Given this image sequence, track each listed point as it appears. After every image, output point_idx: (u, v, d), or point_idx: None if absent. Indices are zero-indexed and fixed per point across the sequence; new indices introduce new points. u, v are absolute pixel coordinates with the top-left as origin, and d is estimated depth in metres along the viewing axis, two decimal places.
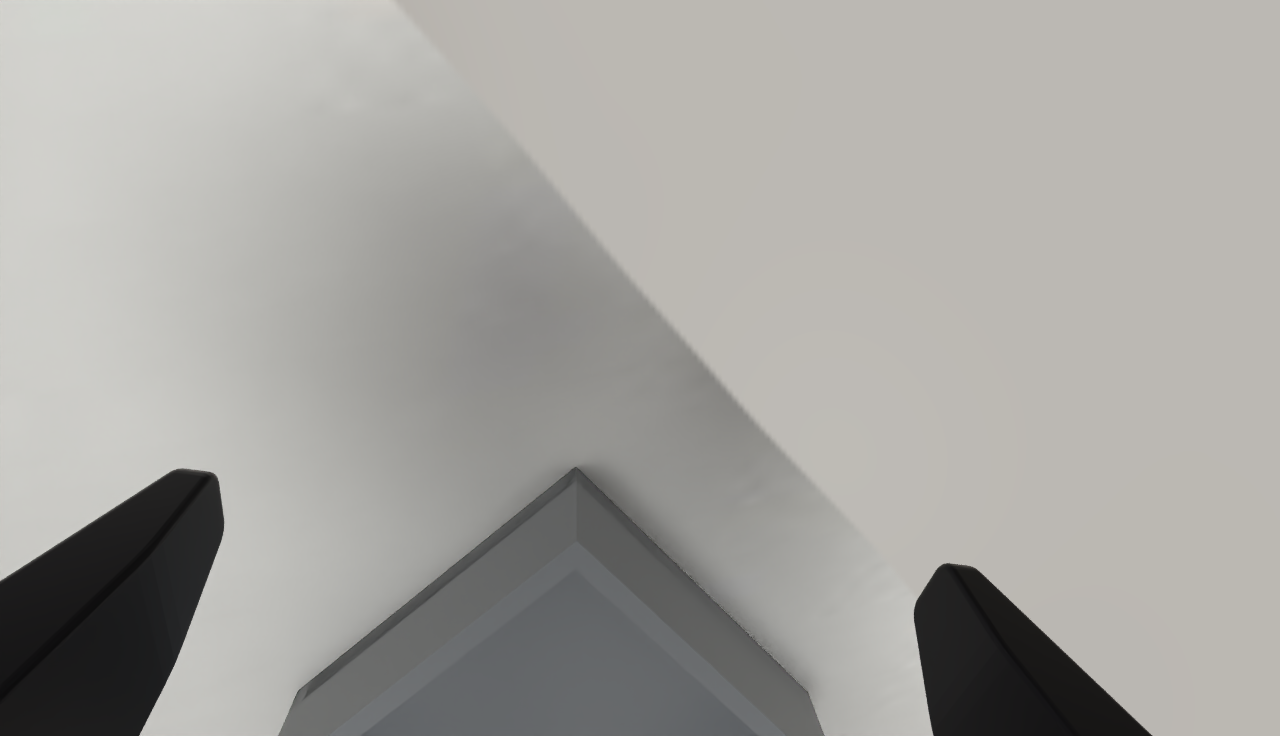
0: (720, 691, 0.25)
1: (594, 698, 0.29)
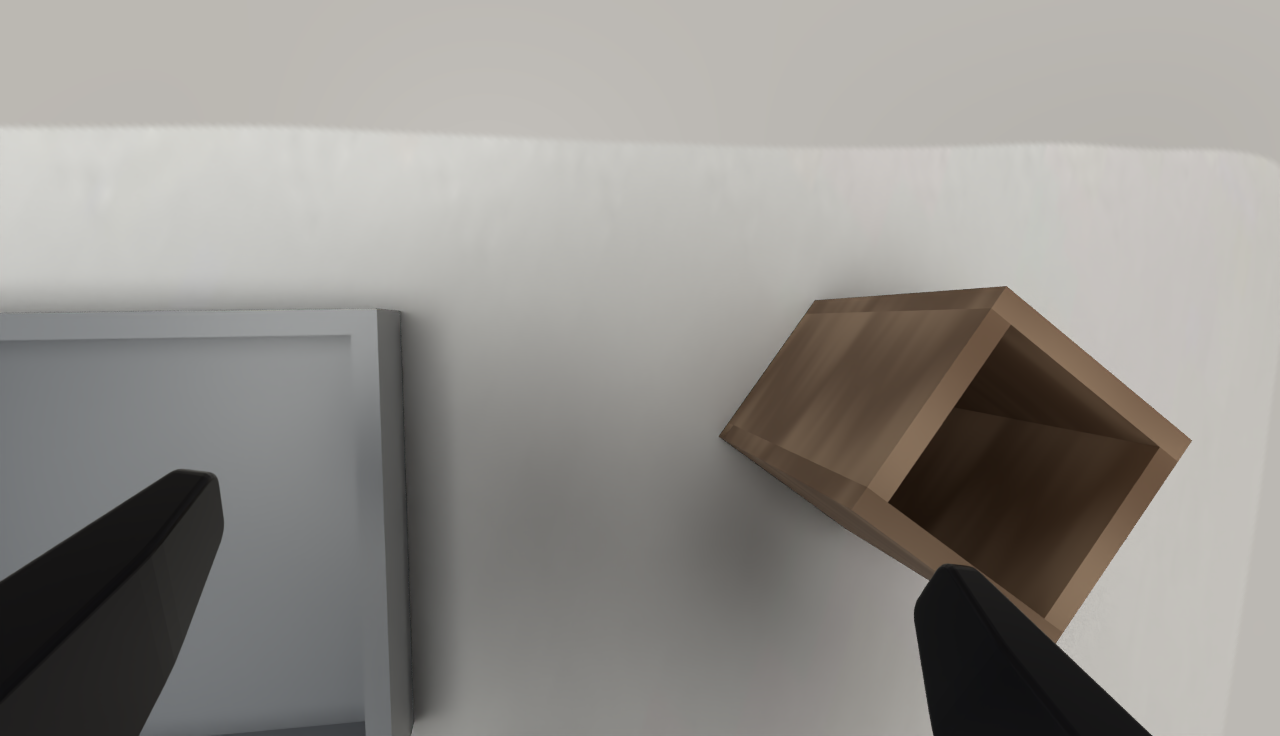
0: (114, 328, 0.20)
1: None
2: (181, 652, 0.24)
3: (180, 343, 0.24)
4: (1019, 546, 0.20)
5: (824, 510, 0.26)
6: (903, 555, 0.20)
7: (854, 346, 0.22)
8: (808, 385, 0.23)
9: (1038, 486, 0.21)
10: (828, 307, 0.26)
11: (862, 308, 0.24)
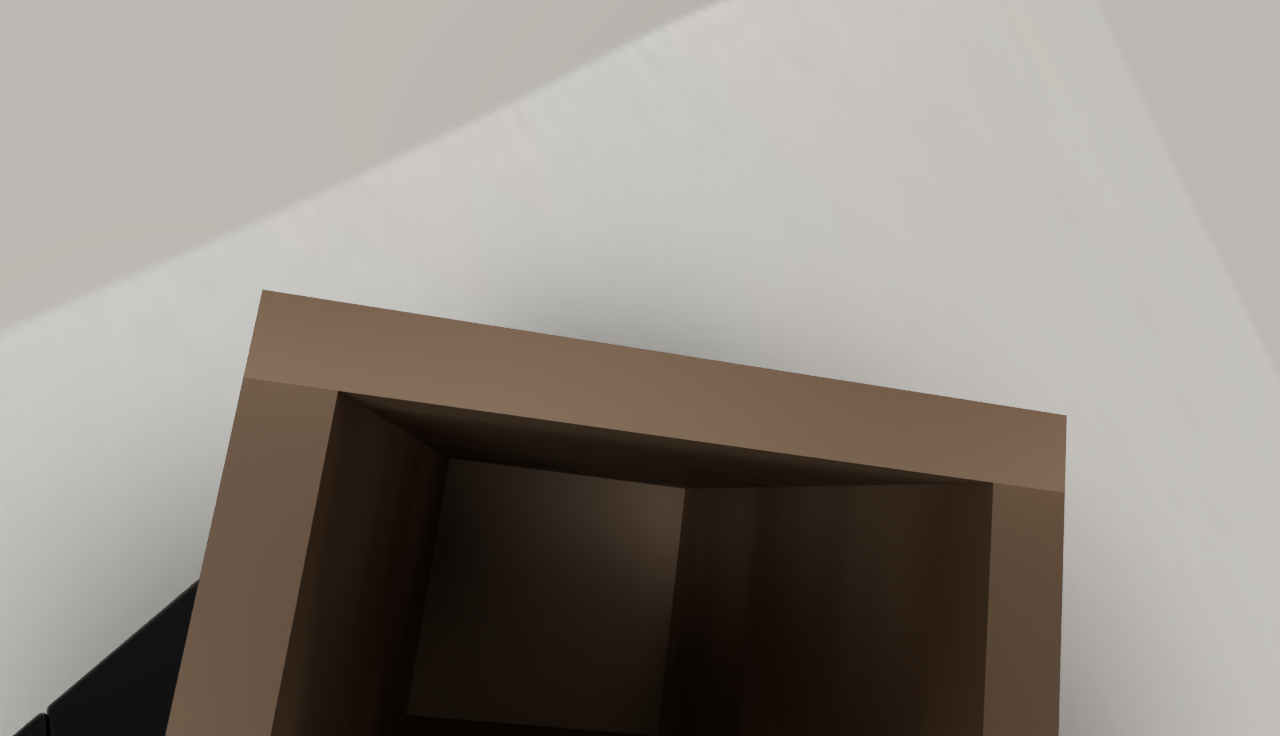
0: None
1: None
2: None
3: None
4: None
5: None
6: None
7: None
8: None
9: (829, 658, 0.08)
10: None
11: None
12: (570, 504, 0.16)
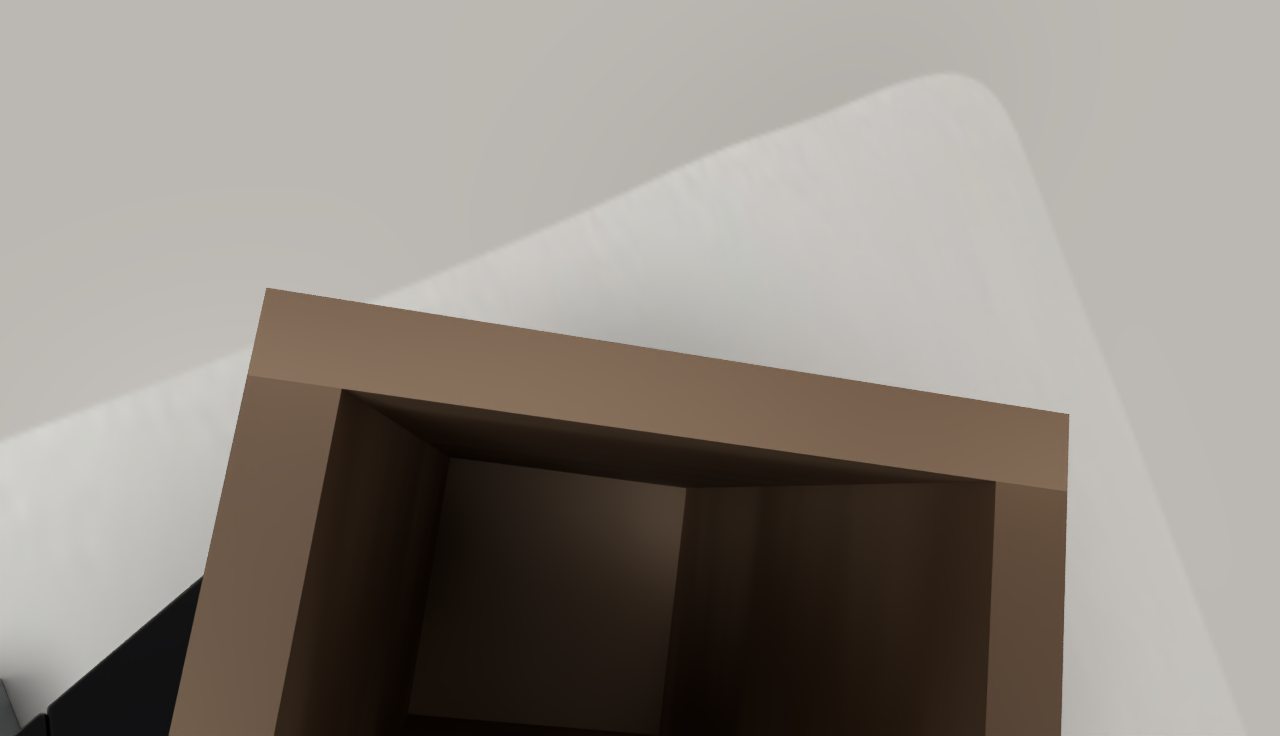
0: None
1: None
2: None
3: None
4: None
5: None
6: None
7: None
8: None
9: (832, 657, 0.08)
10: None
11: None
12: (572, 504, 0.16)
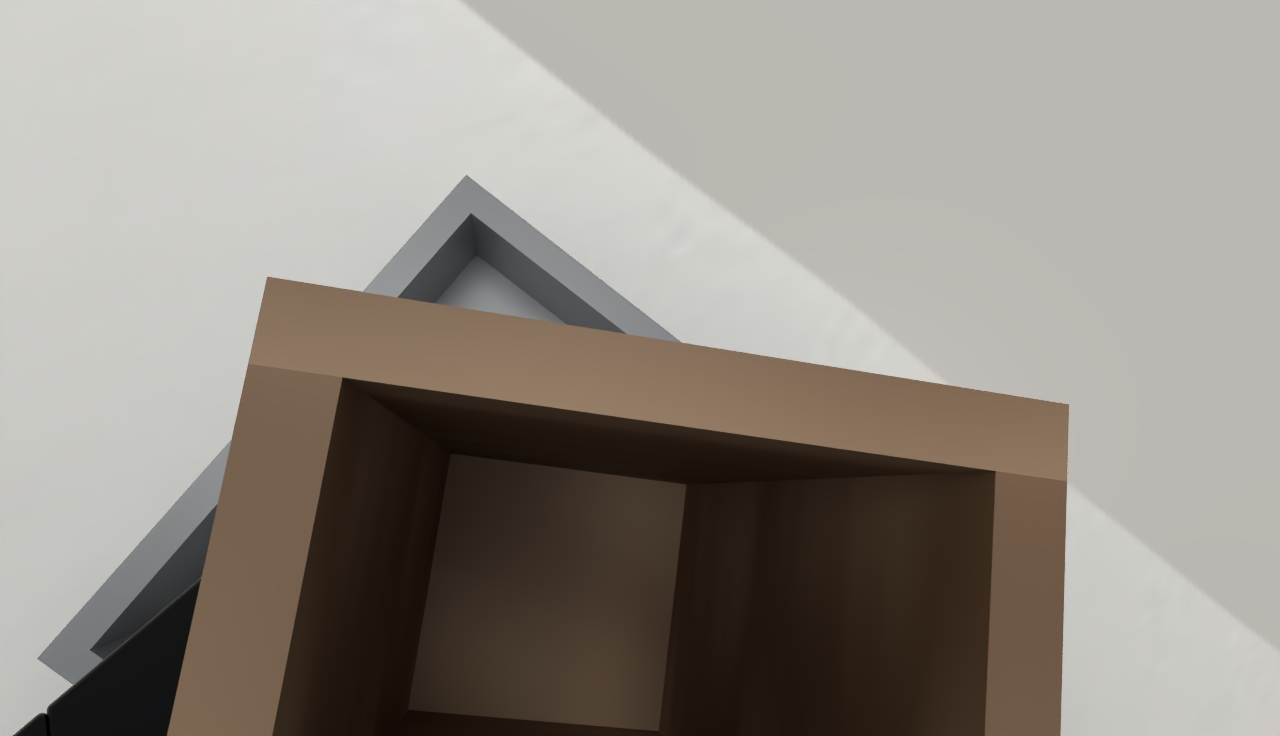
0: None
1: None
2: None
3: None
4: None
5: None
6: None
7: None
8: None
9: (832, 650, 0.08)
10: None
11: None
12: (572, 500, 0.16)
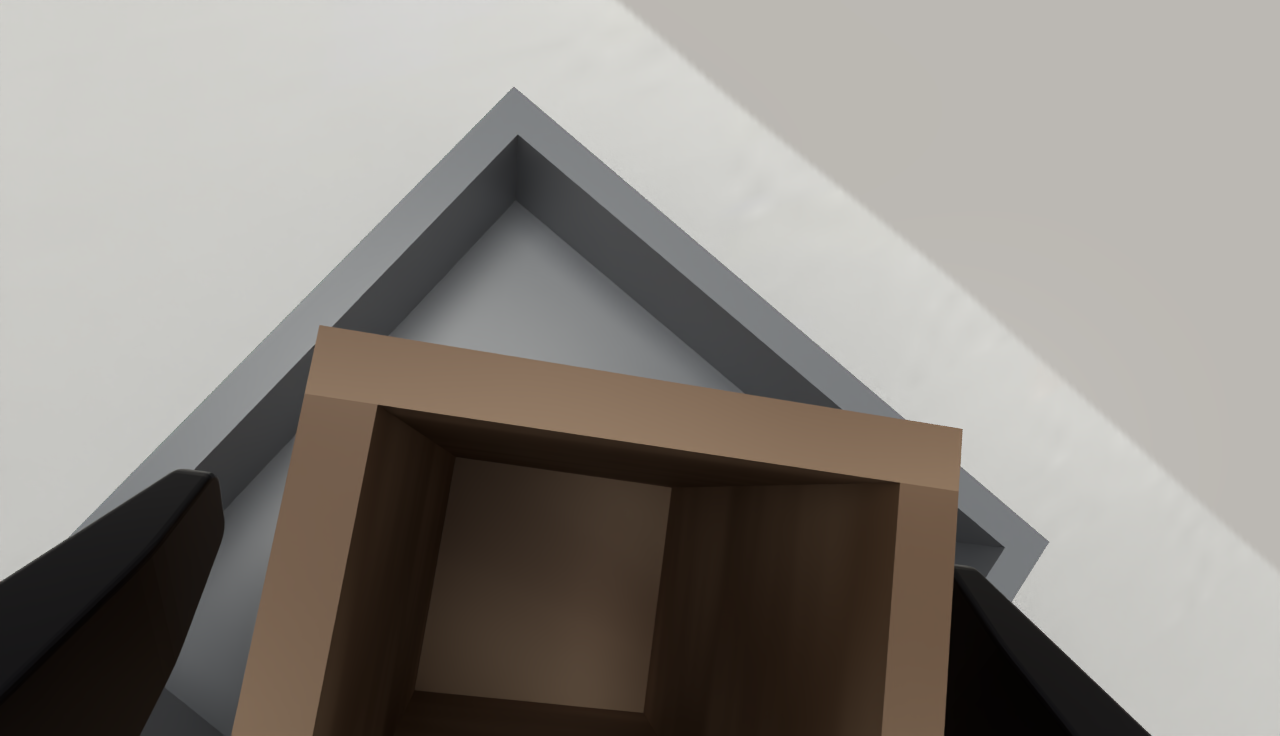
0: (788, 347, 0.15)
1: None
2: None
3: None
4: None
5: None
6: None
7: None
8: None
9: (782, 631, 0.10)
10: None
11: None
12: (566, 500, 0.17)
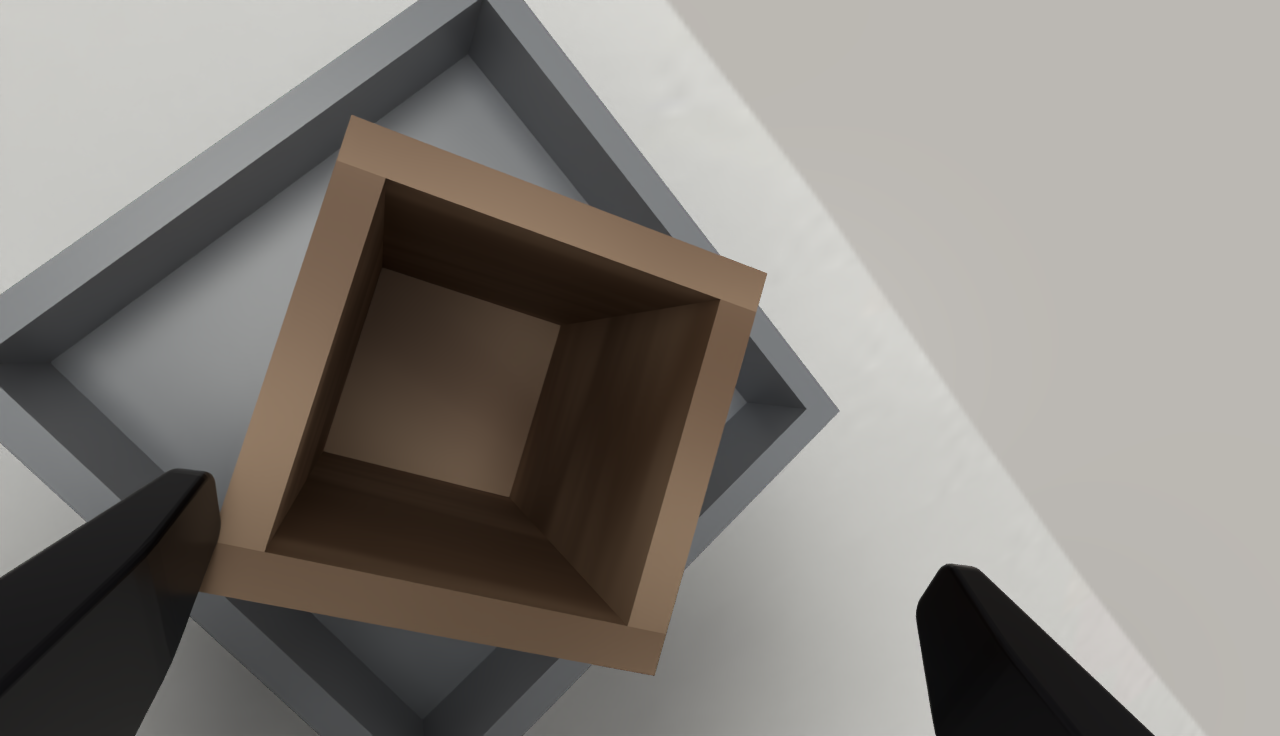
0: (675, 224, 0.19)
1: None
2: None
3: None
4: (612, 508, 0.13)
5: None
6: None
7: None
8: None
9: (628, 407, 0.14)
10: None
11: None
12: (471, 320, 0.20)
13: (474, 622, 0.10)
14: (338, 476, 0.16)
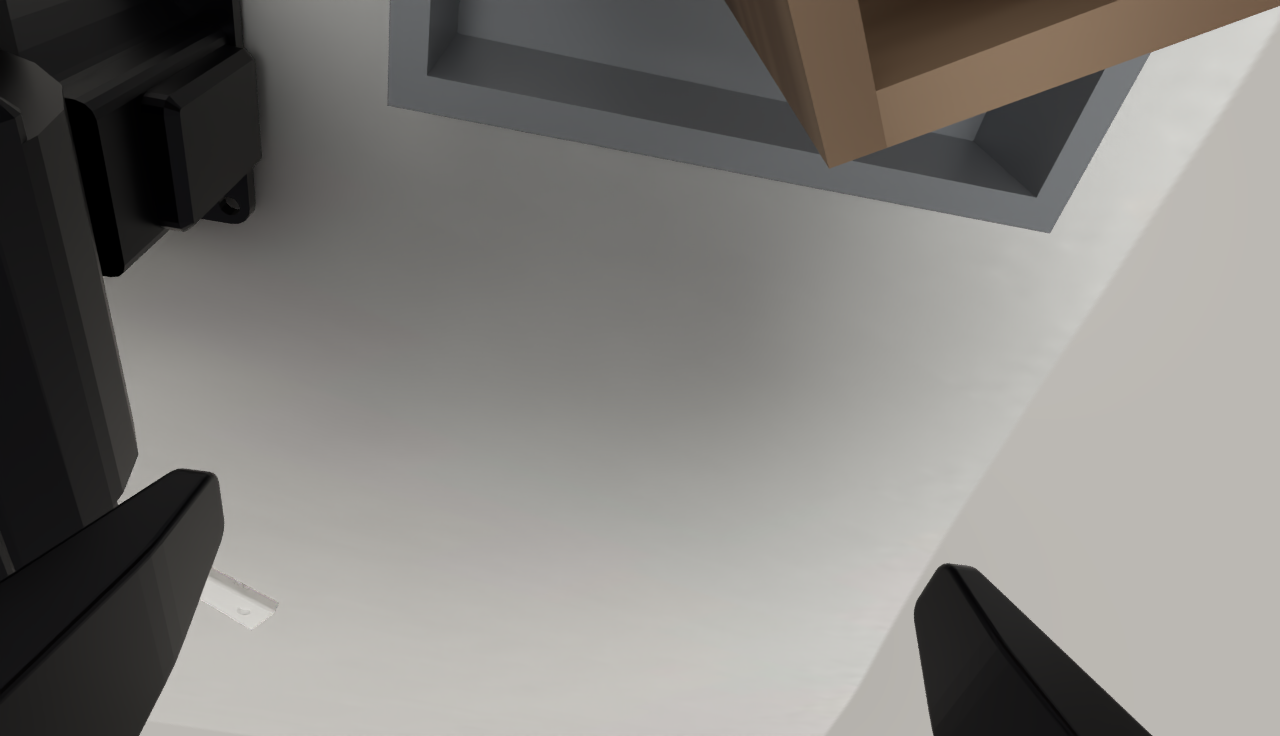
0: None
1: None
2: None
3: None
4: None
5: None
6: None
7: None
8: None
9: None
10: None
11: None
12: None
13: None
14: None
